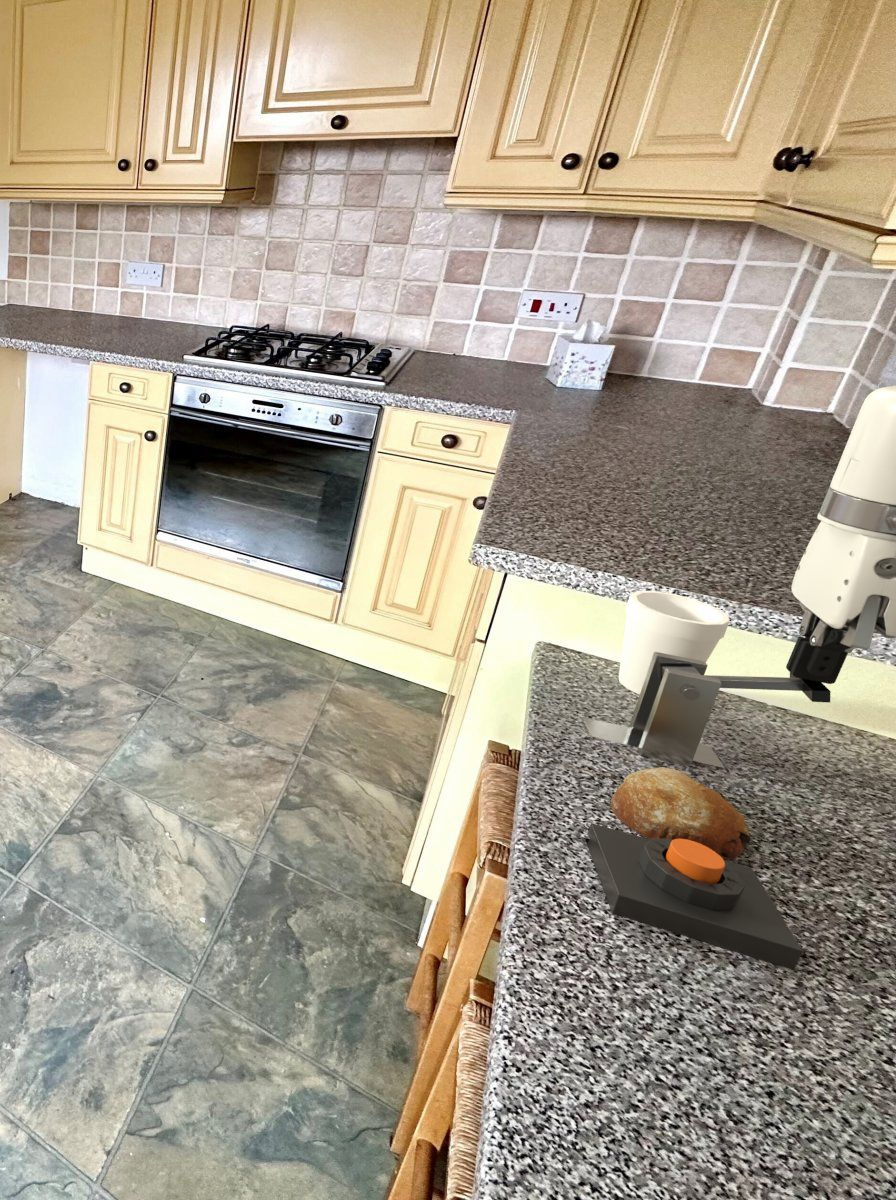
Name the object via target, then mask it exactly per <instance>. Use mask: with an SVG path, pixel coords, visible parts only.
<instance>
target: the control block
mask: <svg viewBox="0 0 896 1200" xmlns="http://www.w3.org/2000/svg"><path fill="white" fill-rule="evenodd" d="M587 835H588V838H587V837H586V838H585V840H584V841H585V844H586V846H587V849H588V853H589V854H590V857H591V860H592V863H593V865H594V868H595V871H596V874H597V876H598V880H599V882H600V884H601V887H602V890H603V893H604V895H605V898H606V901H607V903H608V906H609V909H610V911H611V914H613V915H616V916H619V917H622V918H626V919H629V920H632V921H636V922H638V923H641V924H644V925H648V926H651V927H654V928H658V929H661V930H664V931H666V932H670V933H674V934H677V935H680V936H683V937H686V938H689V939H692V940H695V941H699V942H702V943H705V944H708V945H712V946H715V947H718V948H721V949H724V950H727V951H730V952H734V953H737V954H740V955H743V956H746V957H749V958H753V959H756V960H759V961H762V962H766V963H768V964H771V965H775V966H779V967H782V968H785V969H787V970H791V971H795V969H796V967H797V965H798V963H799V961H800V958H801V956H802V954H803V952H804V951H803V948H802V947H801V945H800V944H799V942H798V940H797V939H796V937H795V935H794V934H793V932H792V931H791V929H790V927H789V926H788V924H787V923H786V921H785V920H784V918H783V916H782V914H781V913H780V911H779V910H778V908H777V906H776V905H775V904H774V902H773V900H772V898H771V896H770V895H769V894H768V892H767V889H765V887H764V885H763V883H762V882H761V880H760V879H759V877H758V876H757V874H756V872H755V871H754V869H753V868H752V867H751V866H747V865H744V864H740V863H736V862H733V861H729V860H727V859H724V862H725V868H724V870H723V872H722V875H721V877H720V880H719V882H717V883H715V884H709V883H705V882H702V881H698V880H695V879H692V878H690V877H688V876H686V875H684V874H682V873H680V872H678V871H677V870H675V869H674V868H673V867H672V866H671V865H669V864H668V863H667V861H666V858H665V857H666V854H667V851H668V849H669V846H670V843H671V841H672V839H668V838H665V839H649V838H646V837H644V836H639V835H636V834H631V833H628V832H624V831H621V830H617V829H614V828H610V827H607V826H603V825H599V824H595V823H593V822H592V823H590V825H589V828H588V831H587Z"/></svg>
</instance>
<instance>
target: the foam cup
mask: <svg viewBox="0 0 896 1200" xmlns="http://www.w3.org/2000/svg"><path fill="white" fill-rule="evenodd" d="M625 614H626V616H625V617H626V618H625V625H624V633H623V640H622V648H621V655H620V663H619V671H618V681H619V684H620V685H622V686H623V687H624V688H625V689H627V690H629V691H631V692H633V693H635V694H637V695H640V692H641V690H642V687H643V684H644V681H645V678H646V675H647V672H648V669H649V666H650V663H651V660H652V657H653V654H654V652H659V653H664V654H669V655H674V656H679V657H685V658H690V659H695V660H700V661H705V663H706V664H707V662H708V660H709V658H710V656H711V655H712V654H713V652H714V650H715V648H716V647H717V645H718V643H719V641H720V640H722V639H723V638H724V637H725V635H726V633H727V629H728V627H729V624H730V621H731V620H730V618H729V617H728V614H727V613H725V612H724V611H722V610H721V609H718V608H717V607H716V606H713V605H711V604H708V603H705V602H703V601H701V600H698V599H695V598H691V597H688V596H684V595H680V594H676V593H670V592H663V591H658V590H637V591H634V592H631V593H629V597H628V600H627V603H626V607H625Z"/></svg>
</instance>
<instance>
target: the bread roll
mask: <svg viewBox="0 0 896 1200" xmlns="http://www.w3.org/2000/svg"><path fill="white" fill-rule="evenodd" d="M610 800H611V801H610V808H611V810H612V812H613V814H614V816H615V817H616V818H618V820H619V821H620V822H622V823H623V824H624V825H625V826H627V827H628V828H630V830H633V831H634V832H636V833H637V834H639V835H641V836H642V837H643V838H646V839H665V838H668V839H672V840H674V839H687V840H691V841H694V842H697V843H700V844H702V845H704V846H706V847H708V848H710V849H711V850H713V851H714V852H716V853H717V854H718V855H719V856H721V858H722V859H723V860H735V859H737V858H738V857H739V856H740V855H741V854H742V853H743V852H744V850H745V847H746V846H747V845H748V844H749V843H750V842H751V841H752V838H751V836H750V832H749V828H748V826H747V822H746V820H745V819H746V817H745V815H743V814H741V812H739V811H738V809H736V807H735V806H733V805H732V804H731V803H730V801H727V800H725V799H724V798H723V797H722V795H721V794H719V792H717V791H716V790H713V789H711V788H708V787H706V786H705V785H704V784H702V783H701V782H698V781H696V780H695V779H694V778H692V777H690V776H689V775H687V774H686V773H685V772H684V771H681V770H678V769H676V768H671V767H663V766H662V767H660V766H659V767H651V768H644V769H639V770H637V771H635V772H633V773H628V774H627V776H626V777H625V778H624V779H623V782H622V784H620V785H619V786H618V788H617V789H616V791H615V792H614V794H613V796H612V797H611V799H610Z"/></svg>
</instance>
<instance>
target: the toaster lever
mask: <svg viewBox="0 0 896 1200" xmlns="http://www.w3.org/2000/svg"><path fill="white" fill-rule="evenodd" d="M666 668H667V669H672V670H677V671H682V672H687V673H692V674H697V675H701V674H700V673H699V672H698V670H697V669H696V668H695V667H676V666H662V678H663V675H664V672H665V670H666ZM702 676H707V677H712V678H718V679H719V680H720V681H721V683H722V684H721V686H720V689H734V690H735V689H736V690H737V689H738V690H761V691H762V690H764V691H765V690H766V691H793V692H794V691H795V692H802V693H803V694H804V695H805V696H806V697H807V698H808V699H809V700H810V702H812V703H827V704H828V703H831V690H830V689H829V688H828V687H827V686H826V685H825V683H822V682H817V681H812V680H806V679H801V678H797V677H794V676H793V675H792V674H791V672H789V677H786V676H785V677H783V676H782V677H780V676H779V677H778V676H747V675H745V676H744V675H743V676H742V675H712V674H711V675H707V674H704V675H702Z"/></svg>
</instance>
